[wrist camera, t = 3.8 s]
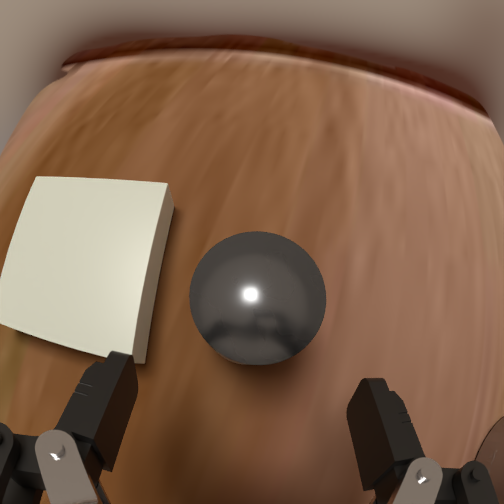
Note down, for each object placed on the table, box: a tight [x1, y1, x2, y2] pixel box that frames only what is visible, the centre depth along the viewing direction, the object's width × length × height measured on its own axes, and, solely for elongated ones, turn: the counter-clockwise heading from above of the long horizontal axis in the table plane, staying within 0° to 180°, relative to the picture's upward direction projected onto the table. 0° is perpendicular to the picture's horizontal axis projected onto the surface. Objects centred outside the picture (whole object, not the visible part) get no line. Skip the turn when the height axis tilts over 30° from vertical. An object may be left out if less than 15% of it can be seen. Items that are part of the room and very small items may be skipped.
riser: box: [0, 177, 174, 364], centre depth 18 cm, size 11×11×3 cm
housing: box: [189, 231, 326, 365], centre depth 15 cm, size 5×5×8 cm
